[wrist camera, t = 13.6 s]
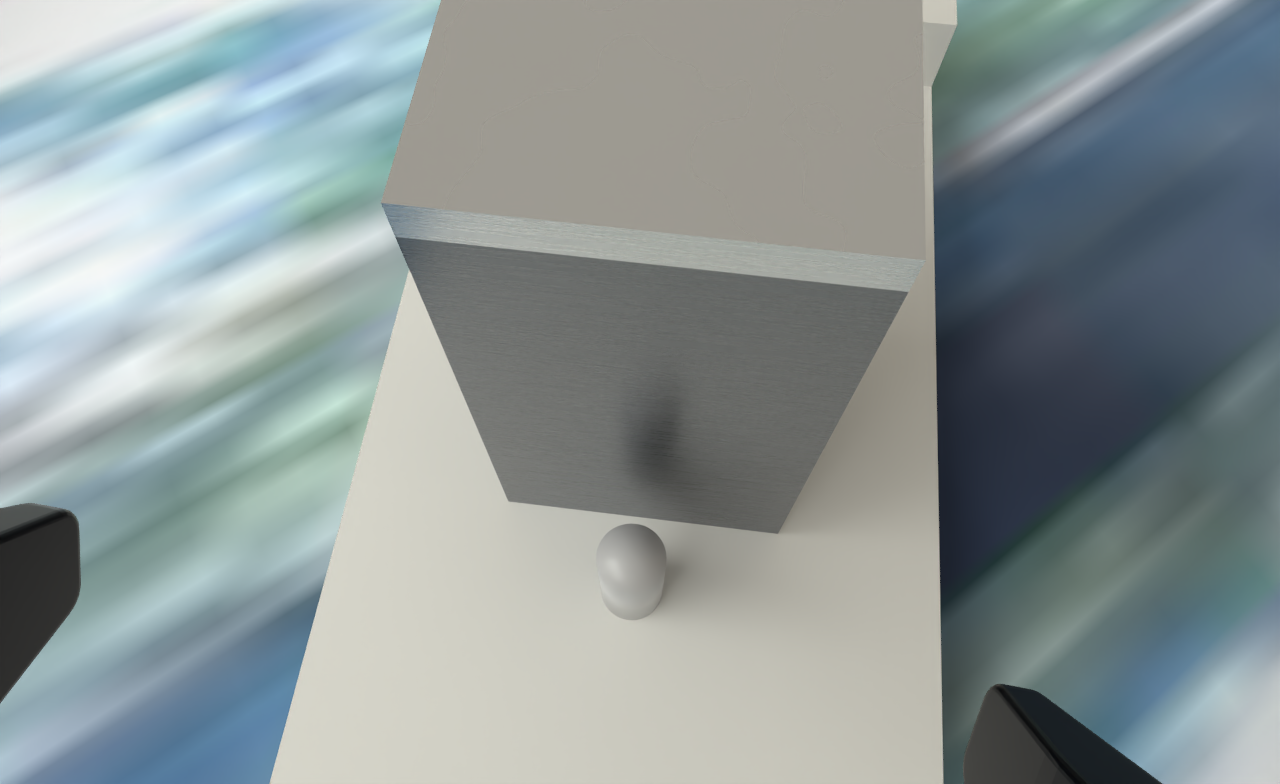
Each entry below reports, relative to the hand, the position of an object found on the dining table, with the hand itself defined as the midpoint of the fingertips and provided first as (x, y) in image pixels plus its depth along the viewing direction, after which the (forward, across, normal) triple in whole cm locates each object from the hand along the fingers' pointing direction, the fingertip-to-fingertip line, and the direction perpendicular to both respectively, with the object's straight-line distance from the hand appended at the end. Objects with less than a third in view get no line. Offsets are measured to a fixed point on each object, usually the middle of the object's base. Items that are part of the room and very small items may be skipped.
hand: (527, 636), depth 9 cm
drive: (+11, -1, +1) cm, 11 cm away
